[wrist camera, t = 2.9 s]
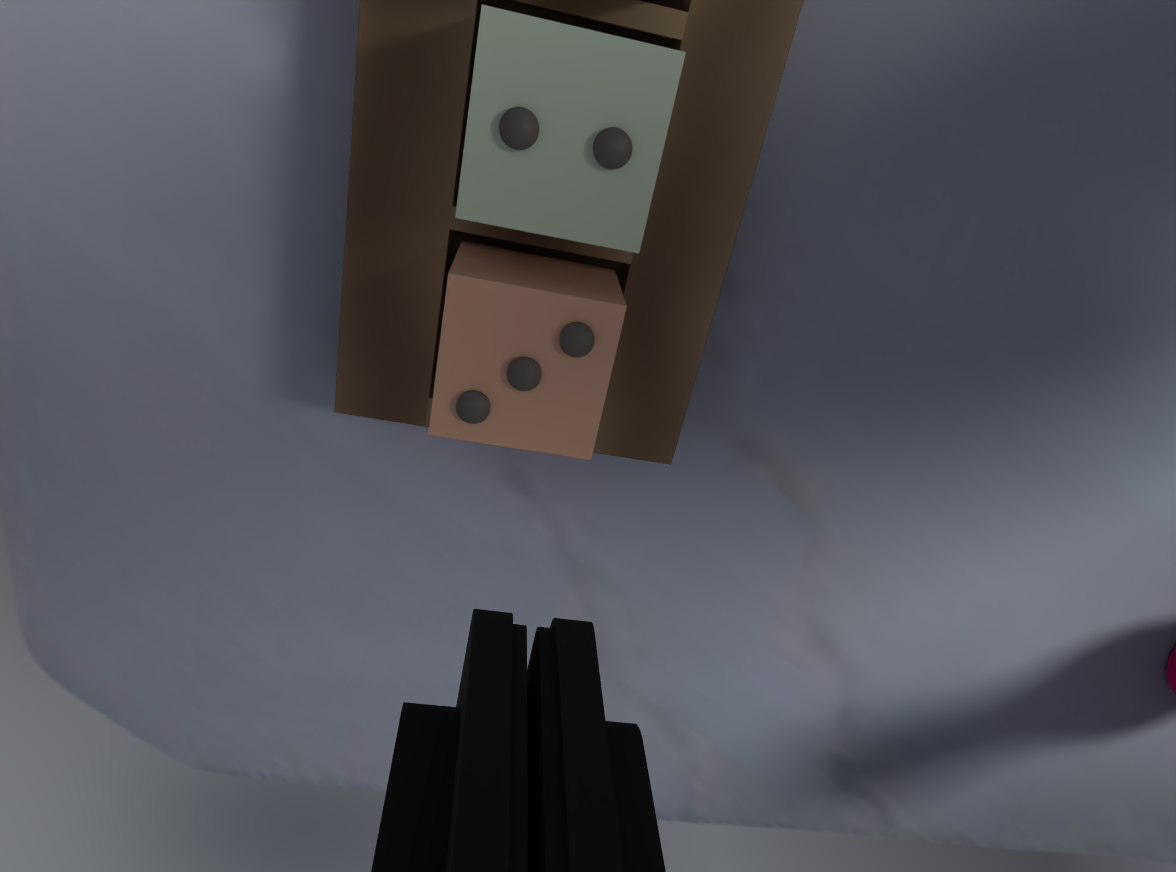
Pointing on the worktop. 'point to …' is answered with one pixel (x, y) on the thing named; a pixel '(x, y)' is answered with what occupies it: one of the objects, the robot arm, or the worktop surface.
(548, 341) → the three-pip tile
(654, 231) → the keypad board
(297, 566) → the worktop surface
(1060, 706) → the worktop surface
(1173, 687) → the pepper mill
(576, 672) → the robot arm
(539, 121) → the two-pip tile
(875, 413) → the worktop surface
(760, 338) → the worktop surface
